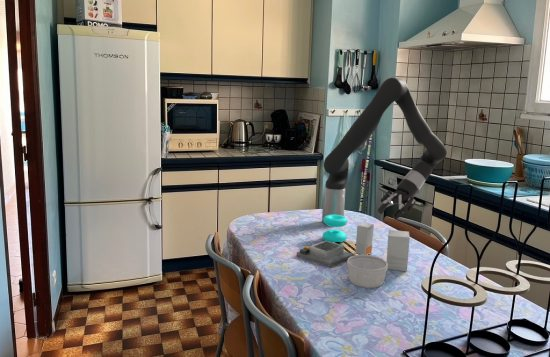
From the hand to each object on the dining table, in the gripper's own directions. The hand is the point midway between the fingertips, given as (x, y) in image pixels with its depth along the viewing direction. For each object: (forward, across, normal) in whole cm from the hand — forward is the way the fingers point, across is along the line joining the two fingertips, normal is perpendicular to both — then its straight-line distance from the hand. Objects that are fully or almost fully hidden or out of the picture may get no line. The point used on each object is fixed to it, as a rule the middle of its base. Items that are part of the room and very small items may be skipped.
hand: (386, 215), depth 180 cm
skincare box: (+18, 0, +3) cm, 18 cm away
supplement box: (+15, +15, +6) cm, 22 cm away
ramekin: (+28, +20, -7) cm, 36 cm away
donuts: (+18, -19, +3) cm, 26 cm away
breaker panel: (+28, -4, -8) cm, 30 cm away
